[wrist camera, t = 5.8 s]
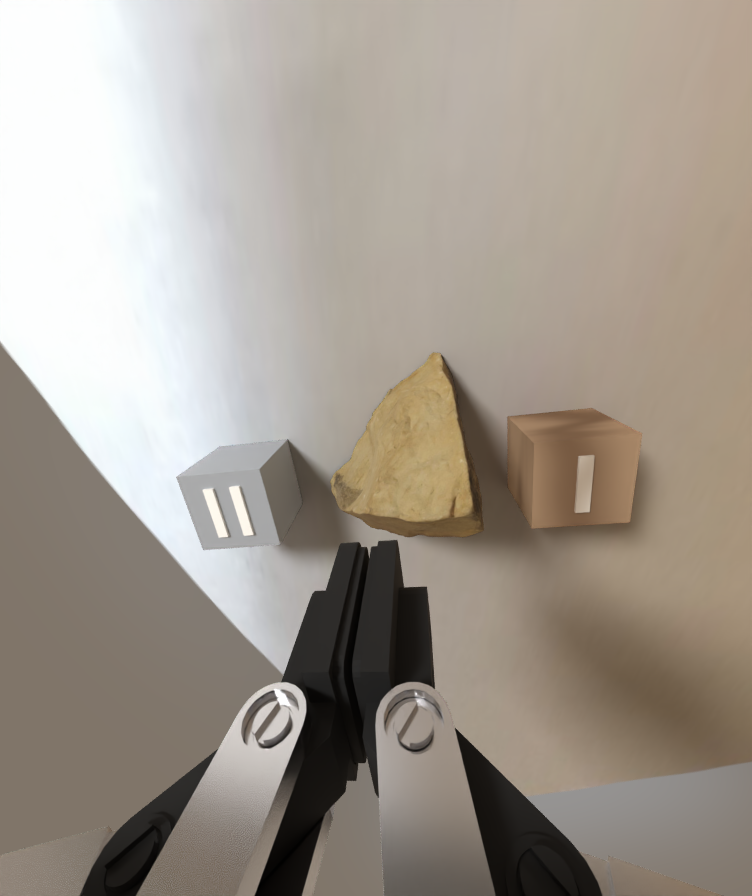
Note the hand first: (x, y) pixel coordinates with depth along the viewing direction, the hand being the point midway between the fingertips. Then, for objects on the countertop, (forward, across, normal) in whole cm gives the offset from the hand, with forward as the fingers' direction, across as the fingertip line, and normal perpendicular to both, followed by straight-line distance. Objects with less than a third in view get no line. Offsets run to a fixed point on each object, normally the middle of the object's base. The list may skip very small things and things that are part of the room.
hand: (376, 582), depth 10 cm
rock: (+14, 0, 0) cm, 14 cm away
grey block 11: (+14, +10, +2) cm, 17 cm away
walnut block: (+14, -10, +2) cm, 17 cm away
